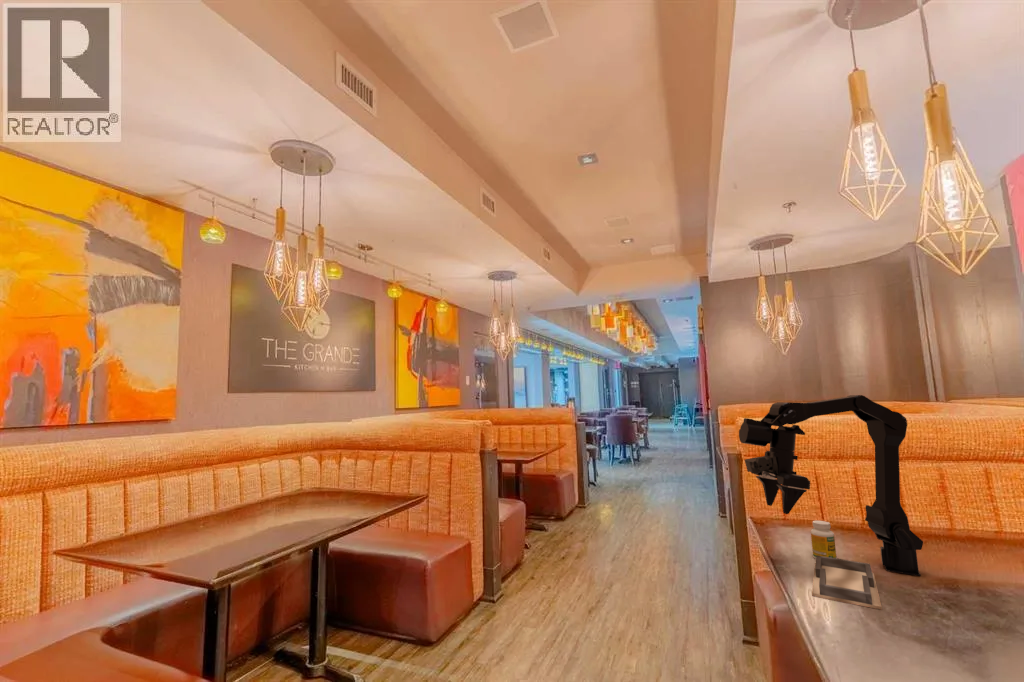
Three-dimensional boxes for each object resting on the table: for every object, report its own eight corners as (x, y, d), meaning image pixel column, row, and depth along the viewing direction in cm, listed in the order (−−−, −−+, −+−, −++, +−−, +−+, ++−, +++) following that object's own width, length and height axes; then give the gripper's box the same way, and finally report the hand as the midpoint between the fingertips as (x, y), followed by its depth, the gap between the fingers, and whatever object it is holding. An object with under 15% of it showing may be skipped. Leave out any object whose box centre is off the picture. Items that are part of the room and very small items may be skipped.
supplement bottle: (818, 554, 126) (815, 518, 127) (840, 560, 121) (836, 522, 123) (809, 558, 123) (805, 521, 124) (831, 564, 118) (827, 526, 120)
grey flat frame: (873, 575, 111) (872, 564, 111) (881, 609, 93) (880, 596, 93) (815, 565, 118) (814, 554, 118) (812, 595, 100) (811, 583, 100)
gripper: (737, 441, 130) (732, 496, 129) (765, 448, 112) (760, 512, 110) (777, 447, 129) (773, 503, 127) (813, 455, 111) (808, 521, 109)
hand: (777, 509), depth 118 cm, fingers open, 9 cm apart
